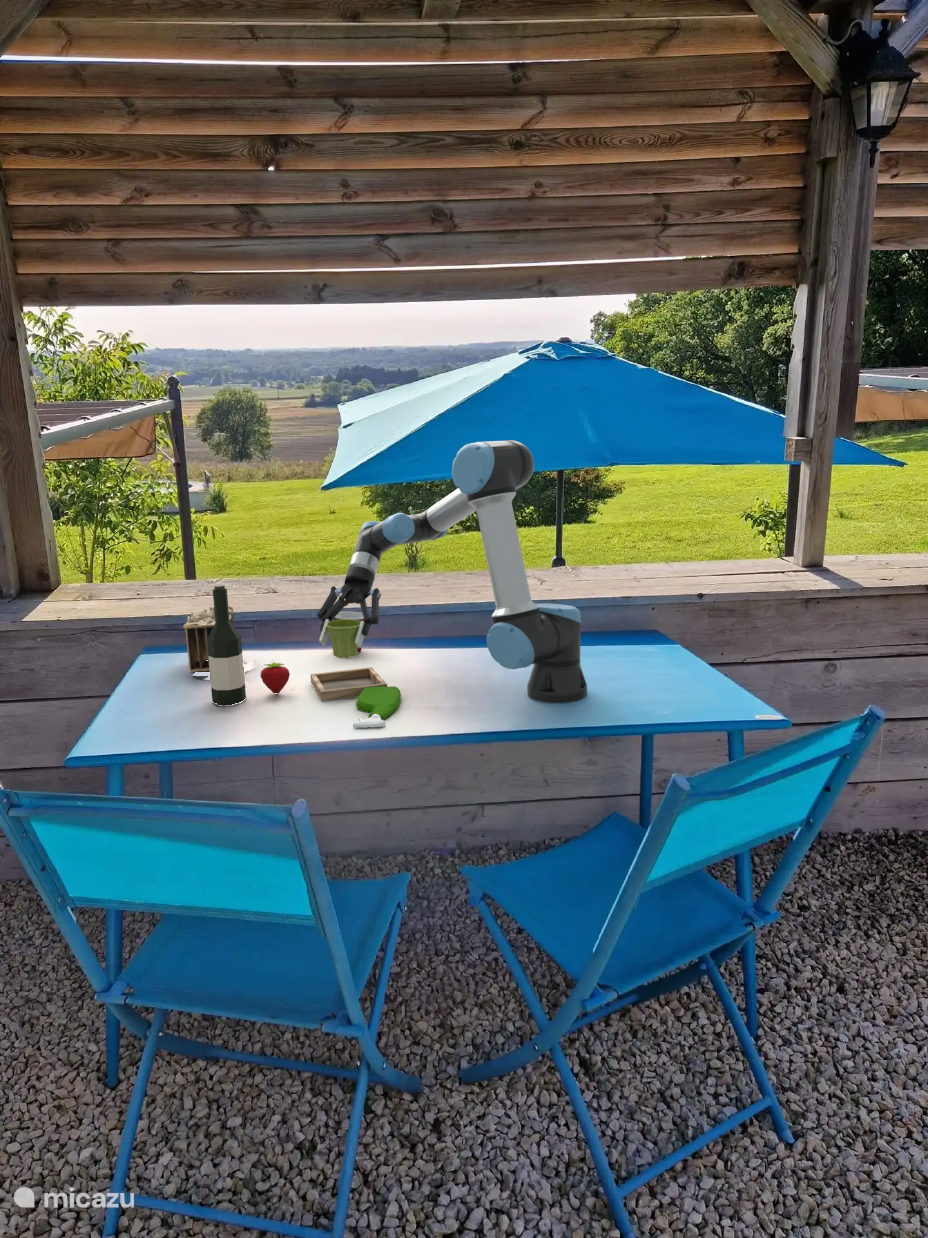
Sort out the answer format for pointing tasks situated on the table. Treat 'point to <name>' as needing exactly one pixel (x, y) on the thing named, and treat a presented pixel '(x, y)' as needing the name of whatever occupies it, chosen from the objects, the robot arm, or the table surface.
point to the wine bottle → (225, 654)
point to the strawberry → (275, 676)
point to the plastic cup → (350, 616)
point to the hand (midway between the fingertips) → (339, 644)
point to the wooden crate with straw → (200, 638)
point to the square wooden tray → (345, 683)
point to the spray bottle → (377, 705)
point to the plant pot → (343, 637)
